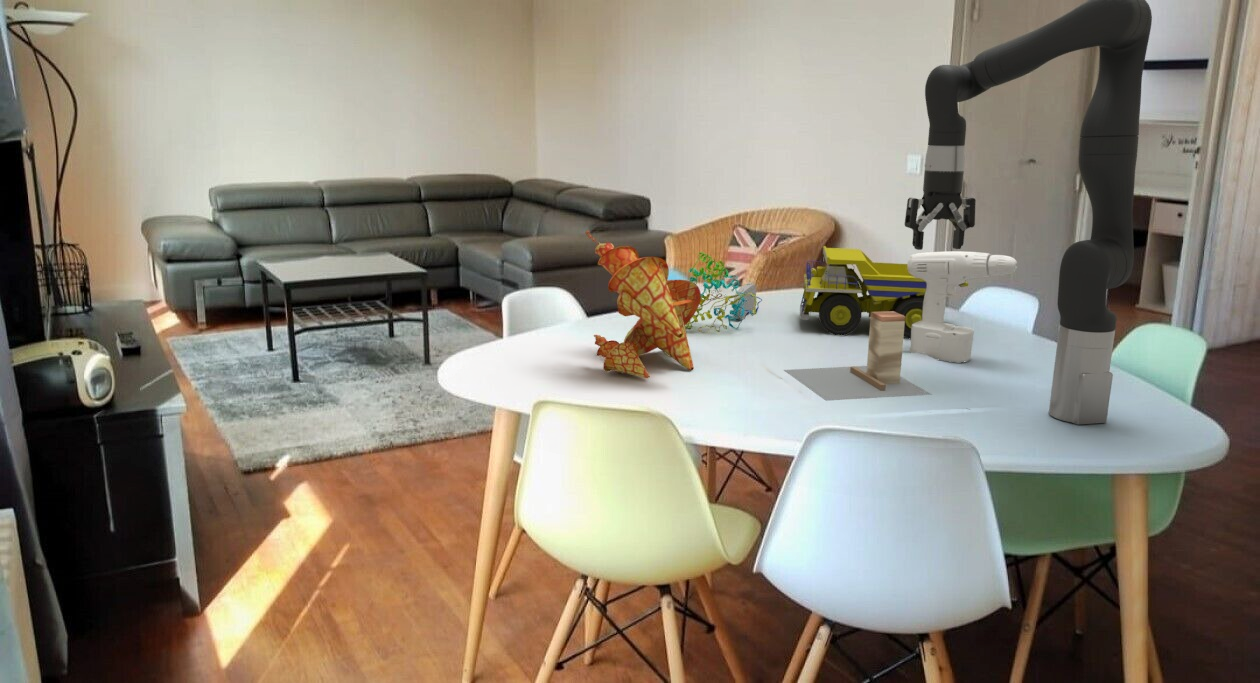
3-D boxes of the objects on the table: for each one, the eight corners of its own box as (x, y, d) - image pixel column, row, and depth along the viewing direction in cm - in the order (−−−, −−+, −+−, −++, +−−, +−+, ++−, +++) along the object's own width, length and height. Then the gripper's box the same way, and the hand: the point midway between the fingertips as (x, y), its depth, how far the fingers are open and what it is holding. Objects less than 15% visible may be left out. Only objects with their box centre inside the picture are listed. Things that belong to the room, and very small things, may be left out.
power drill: (999, 371, 205) (1011, 258, 199) (894, 353, 220) (902, 247, 214) (1011, 363, 212) (1023, 254, 206) (908, 346, 226) (917, 243, 220)
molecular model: (680, 254, 228) (694, 232, 241) (656, 326, 239) (670, 301, 252) (767, 287, 226) (776, 263, 239) (738, 358, 237) (748, 332, 250)
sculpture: (682, 316, 179) (589, 193, 193) (604, 408, 192) (521, 287, 207) (771, 315, 204) (682, 207, 219) (696, 397, 217) (617, 290, 232)
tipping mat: (931, 399, 185) (932, 388, 184) (825, 405, 180) (826, 394, 180) (879, 369, 206) (880, 359, 205) (783, 374, 201) (783, 364, 200)
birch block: (899, 382, 192) (905, 316, 189) (877, 384, 191) (882, 317, 188) (888, 376, 197) (893, 311, 194) (866, 377, 196) (871, 311, 192)
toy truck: (964, 342, 231) (972, 263, 226) (800, 335, 237) (804, 257, 232) (948, 322, 254) (954, 249, 249) (798, 316, 260) (802, 244, 255)
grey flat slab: (747, 308, 269) (748, 280, 267) (755, 309, 268) (756, 280, 266) (731, 322, 251) (732, 291, 249) (740, 322, 250) (741, 292, 248)
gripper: (920, 169, 183) (914, 252, 187) (986, 169, 186) (979, 250, 189) (902, 167, 190) (896, 247, 194) (966, 167, 193) (959, 246, 197)
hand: (937, 249), depth 192 cm, fingers open, 8 cm apart
